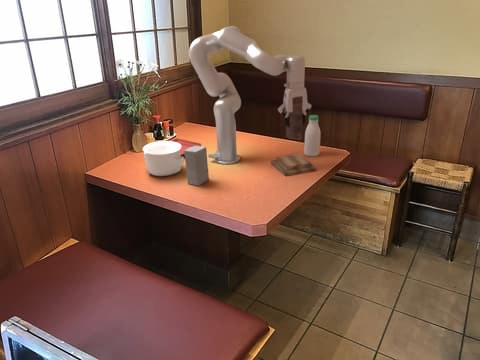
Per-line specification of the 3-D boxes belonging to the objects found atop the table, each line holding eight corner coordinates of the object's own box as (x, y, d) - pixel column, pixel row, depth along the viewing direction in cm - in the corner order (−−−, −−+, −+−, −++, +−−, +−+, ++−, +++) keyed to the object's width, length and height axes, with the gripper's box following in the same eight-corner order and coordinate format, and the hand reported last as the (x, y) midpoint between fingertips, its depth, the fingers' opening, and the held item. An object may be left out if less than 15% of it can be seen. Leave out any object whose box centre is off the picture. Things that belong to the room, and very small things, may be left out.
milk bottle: (319, 157, 207) (321, 118, 198) (303, 156, 208) (305, 118, 200) (319, 151, 214) (321, 114, 205) (304, 151, 215) (306, 113, 207)
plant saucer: (202, 149, 223) (202, 143, 222) (181, 160, 209) (180, 154, 208) (177, 143, 232) (176, 138, 231) (154, 154, 218) (154, 148, 217)
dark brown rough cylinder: (291, 142, 186) (292, 98, 178) (282, 137, 192) (283, 94, 184) (305, 139, 189) (307, 95, 181) (296, 134, 195) (297, 92, 187)
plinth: (284, 176, 188) (285, 169, 186) (270, 163, 202) (270, 156, 200) (316, 170, 193) (316, 163, 191) (300, 158, 206) (300, 151, 205)
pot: (134, 174, 194) (130, 150, 189) (157, 161, 208) (154, 138, 203) (173, 182, 185) (170, 157, 180) (194, 168, 199) (192, 144, 194)
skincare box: (198, 186, 180) (196, 152, 174) (185, 183, 184) (182, 150, 177) (210, 179, 187) (207, 146, 180) (197, 176, 190) (194, 143, 184)
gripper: (280, 89, 175) (280, 129, 182) (317, 85, 180) (315, 124, 187) (273, 85, 181) (273, 124, 189) (309, 81, 186) (307, 119, 194)
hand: (294, 124), depth 188 cm, fingers closed on dark brown rough cylinder, 7 cm apart
